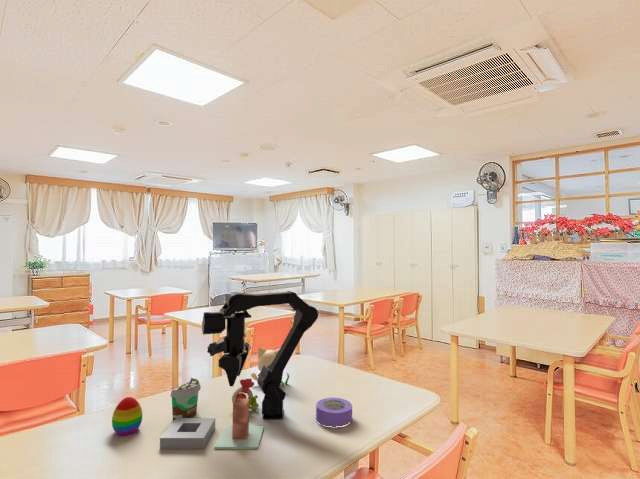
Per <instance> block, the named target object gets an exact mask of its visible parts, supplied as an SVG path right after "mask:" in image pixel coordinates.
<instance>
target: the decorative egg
mask: <svg viewBox="0 0 640 479" xmlns="http://www.w3.org/2000/svg"><path fill="white" fill-rule="evenodd" d="M111 418H112V419H111V426H112V429H113V431H114V432H115V433H116V435H119V436H128V435H131V434H133V433H135V432H137V430H138V429H139V428H140V427H141V424H142V421H143V409H142V407H141V404H140V402H139V401H138V400H137V399H136V398H134V397H132V396H127V397H124V398H123V399H122V400H121V401H119V403H118V404H117V405H116V407H115V409H114V410H113V414H112V416H111Z"/></svg>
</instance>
